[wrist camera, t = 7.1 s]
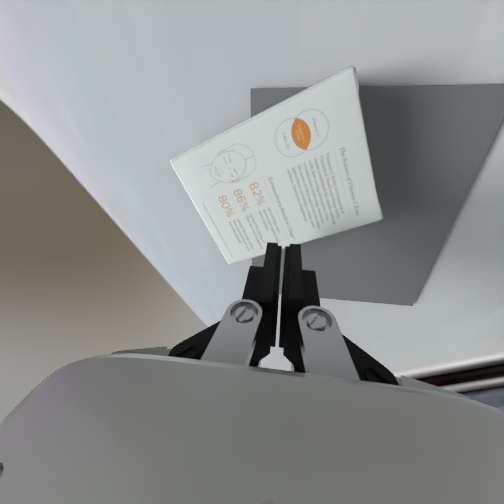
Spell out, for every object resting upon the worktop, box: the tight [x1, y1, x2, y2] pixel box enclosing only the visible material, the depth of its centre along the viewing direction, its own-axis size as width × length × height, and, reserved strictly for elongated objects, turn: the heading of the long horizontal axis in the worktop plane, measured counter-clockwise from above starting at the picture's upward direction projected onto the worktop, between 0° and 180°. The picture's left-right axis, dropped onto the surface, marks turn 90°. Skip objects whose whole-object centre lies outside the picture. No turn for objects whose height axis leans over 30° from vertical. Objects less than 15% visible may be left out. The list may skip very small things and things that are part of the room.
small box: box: [170, 66, 383, 264], centre depth 16 cm, size 8×6×10 cm
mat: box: [251, 84, 504, 306], centre depth 20 cm, size 18×16×1 cm
